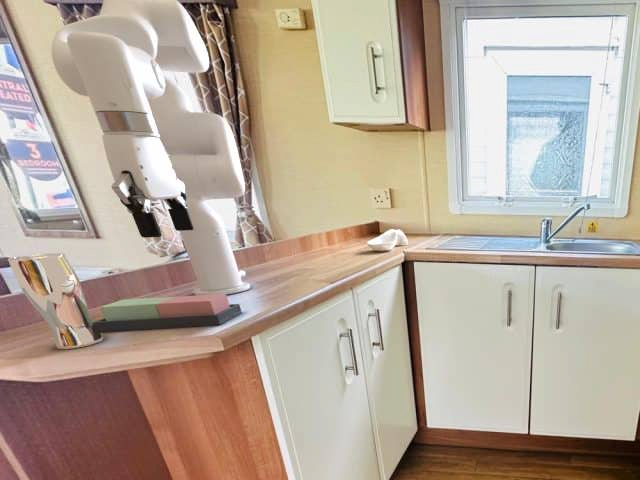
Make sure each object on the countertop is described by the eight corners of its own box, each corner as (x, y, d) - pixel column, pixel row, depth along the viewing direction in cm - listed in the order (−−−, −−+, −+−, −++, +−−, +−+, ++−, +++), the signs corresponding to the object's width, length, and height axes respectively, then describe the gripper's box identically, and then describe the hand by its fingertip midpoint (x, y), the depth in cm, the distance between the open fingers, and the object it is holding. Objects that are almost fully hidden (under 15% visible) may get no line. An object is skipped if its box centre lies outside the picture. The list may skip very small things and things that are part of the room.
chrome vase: (102, 334, 79) (63, 251, 73) (110, 341, 75) (69, 254, 68) (51, 345, 74) (4, 257, 68) (56, 353, 70) (6, 261, 64)
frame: (130, 319, 88) (125, 310, 87) (242, 313, 90) (239, 303, 89) (96, 332, 80) (92, 322, 80) (220, 325, 82) (216, 315, 81)
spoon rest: (389, 252, 167) (386, 233, 164) (363, 252, 170) (359, 234, 167) (415, 244, 188) (412, 227, 185) (391, 245, 190) (388, 228, 187)
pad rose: (182, 315, 88) (175, 296, 86) (232, 312, 88) (226, 293, 87) (163, 324, 82) (155, 303, 81) (216, 320, 83) (209, 300, 81)
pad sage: (131, 318, 87) (122, 299, 85) (181, 315, 88) (174, 296, 86) (108, 327, 82) (99, 307, 80) (162, 324, 82) (154, 303, 81)
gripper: (141, 132, 79) (176, 228, 86) (62, 122, 63) (113, 241, 71) (183, 131, 79) (214, 227, 87) (115, 121, 64) (160, 239, 71)
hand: (169, 233), depth 79 cm, fingers open, 9 cm apart
